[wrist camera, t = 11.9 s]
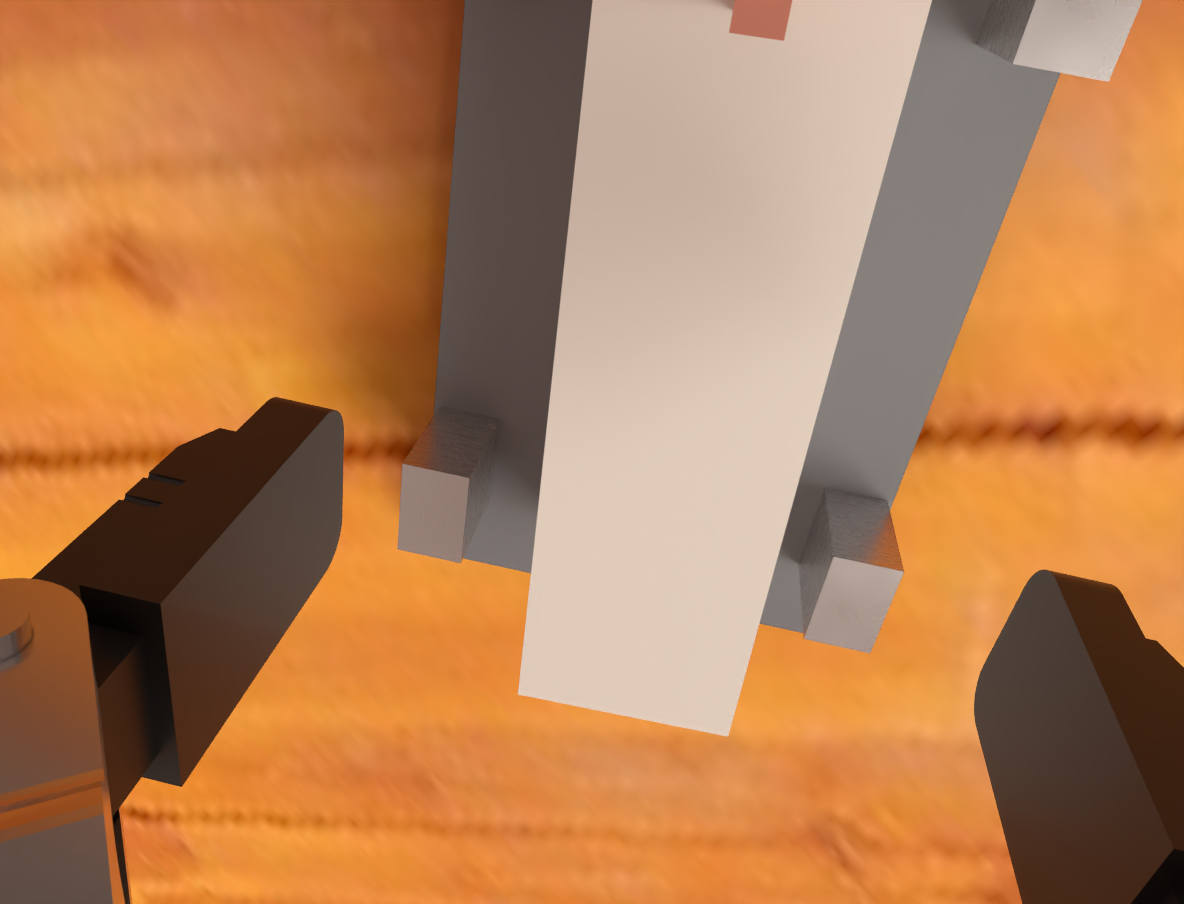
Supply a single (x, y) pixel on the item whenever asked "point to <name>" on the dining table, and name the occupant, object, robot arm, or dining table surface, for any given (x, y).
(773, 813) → the dining table surface
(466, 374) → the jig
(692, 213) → the white block with peg
